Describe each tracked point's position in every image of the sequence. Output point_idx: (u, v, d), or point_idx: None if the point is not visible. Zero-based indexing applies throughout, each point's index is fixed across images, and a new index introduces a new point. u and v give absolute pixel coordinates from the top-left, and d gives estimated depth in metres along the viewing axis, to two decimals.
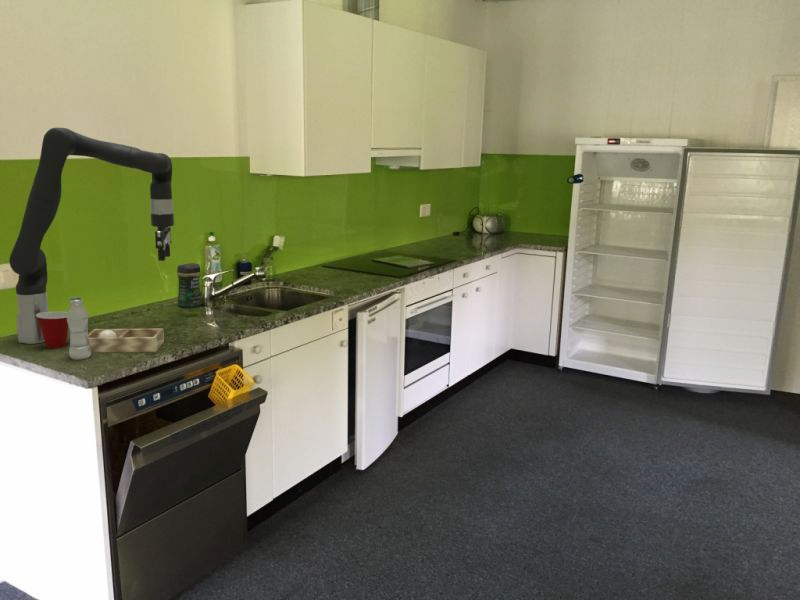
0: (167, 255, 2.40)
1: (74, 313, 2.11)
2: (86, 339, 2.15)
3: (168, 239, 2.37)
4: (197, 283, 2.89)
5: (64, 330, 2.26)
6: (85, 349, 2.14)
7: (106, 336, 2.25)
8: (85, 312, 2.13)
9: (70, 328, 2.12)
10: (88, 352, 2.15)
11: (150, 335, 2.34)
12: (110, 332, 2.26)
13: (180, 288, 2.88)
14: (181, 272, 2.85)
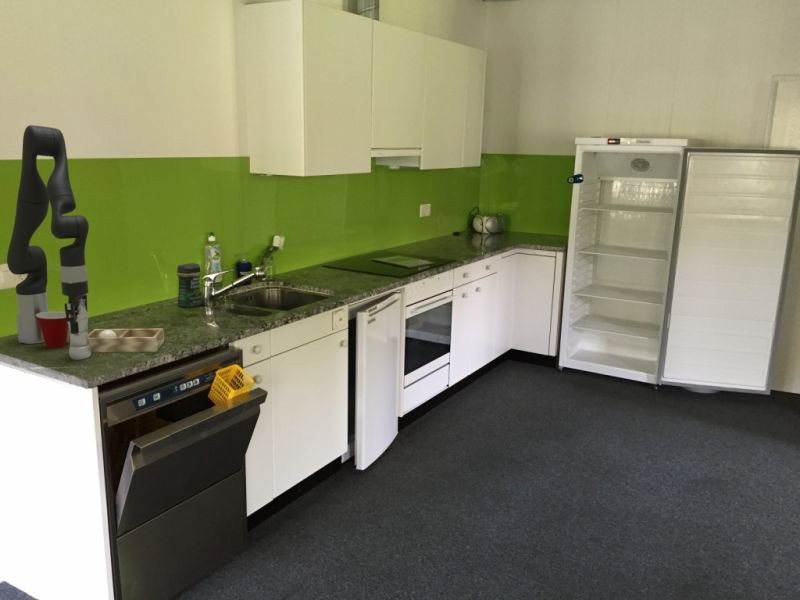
0: None
1: None
2: (86, 339, 2.15)
3: None
4: (197, 283, 2.89)
5: (64, 330, 2.26)
6: (85, 349, 2.14)
7: (106, 336, 2.25)
8: (85, 312, 2.13)
9: None
10: (88, 352, 2.15)
11: (150, 335, 2.34)
12: (110, 332, 2.26)
13: (180, 288, 2.88)
14: (181, 272, 2.85)
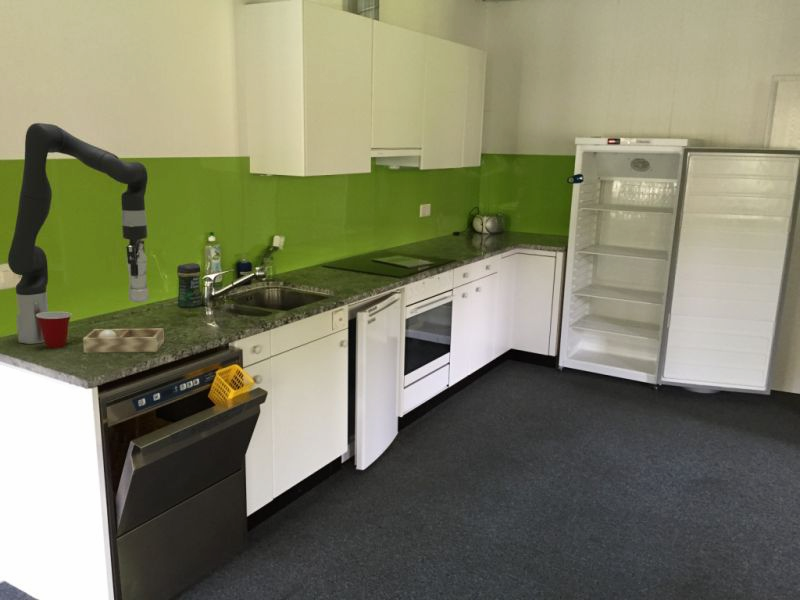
0: None
1: None
2: (145, 282, 2.24)
3: None
4: (197, 283, 2.89)
5: (64, 330, 2.26)
6: (143, 292, 2.24)
7: (106, 336, 2.25)
8: (144, 256, 2.23)
9: (130, 271, 2.21)
10: (146, 295, 2.25)
11: (150, 335, 2.34)
12: (110, 332, 2.26)
13: (180, 288, 2.88)
14: (181, 272, 2.85)
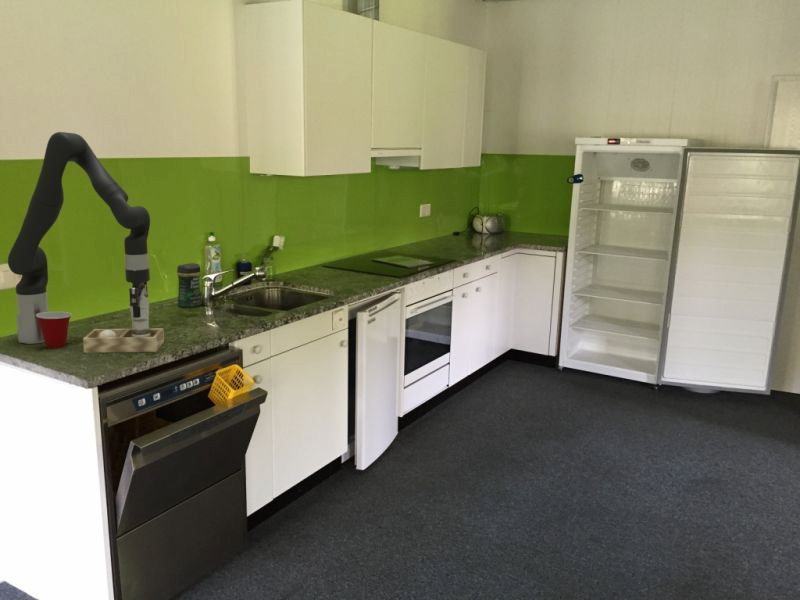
0: None
1: None
2: (147, 327, 2.28)
3: (144, 294, 2.28)
4: (197, 283, 2.89)
5: (64, 330, 2.26)
6: None
7: (106, 336, 2.25)
8: (147, 301, 2.26)
9: None
10: None
11: None
12: (110, 332, 2.26)
13: (180, 288, 2.88)
14: (181, 272, 2.85)
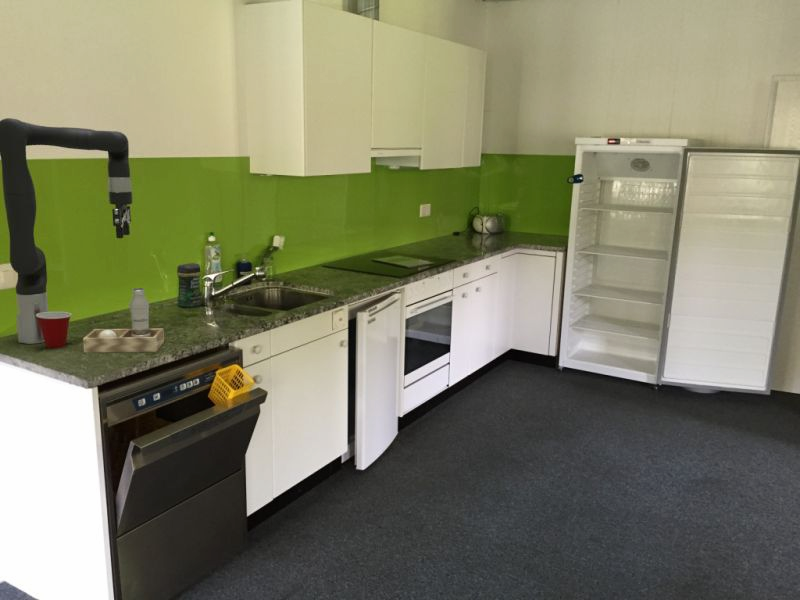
0: (126, 233, 2.42)
1: (137, 302, 2.24)
2: (147, 327, 2.28)
3: (127, 217, 2.39)
4: (197, 283, 2.89)
5: (64, 330, 2.26)
6: None
7: (106, 336, 2.25)
8: (147, 301, 2.26)
9: (133, 317, 2.25)
10: None
11: None
12: (110, 332, 2.26)
13: (180, 288, 2.88)
14: (181, 272, 2.85)
